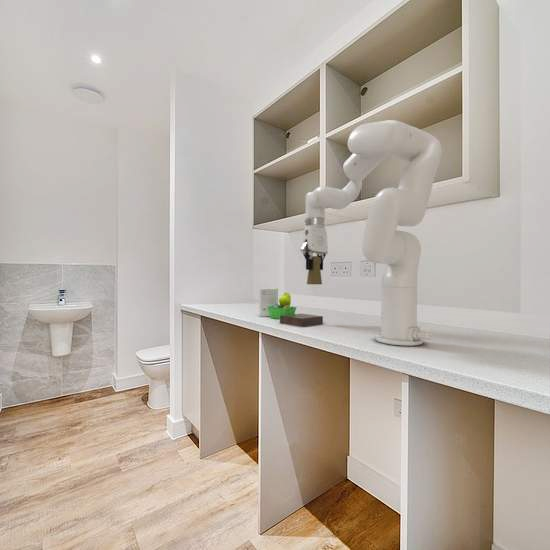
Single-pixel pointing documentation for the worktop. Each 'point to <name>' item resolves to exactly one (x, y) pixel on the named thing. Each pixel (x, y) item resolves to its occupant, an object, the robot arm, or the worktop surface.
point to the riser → (301, 319)
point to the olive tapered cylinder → (315, 272)
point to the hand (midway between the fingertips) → (314, 269)
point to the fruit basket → (282, 307)
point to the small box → (267, 300)
